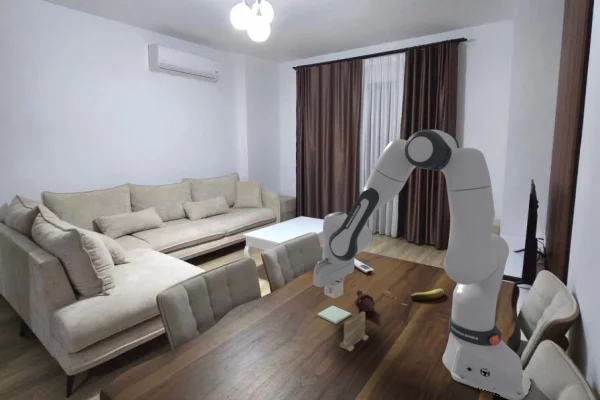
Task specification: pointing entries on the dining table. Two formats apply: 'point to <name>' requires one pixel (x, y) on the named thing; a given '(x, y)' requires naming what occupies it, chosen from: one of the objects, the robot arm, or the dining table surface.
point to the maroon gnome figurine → (364, 302)
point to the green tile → (334, 314)
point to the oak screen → (354, 331)
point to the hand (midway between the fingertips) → (334, 290)
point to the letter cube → (335, 289)
